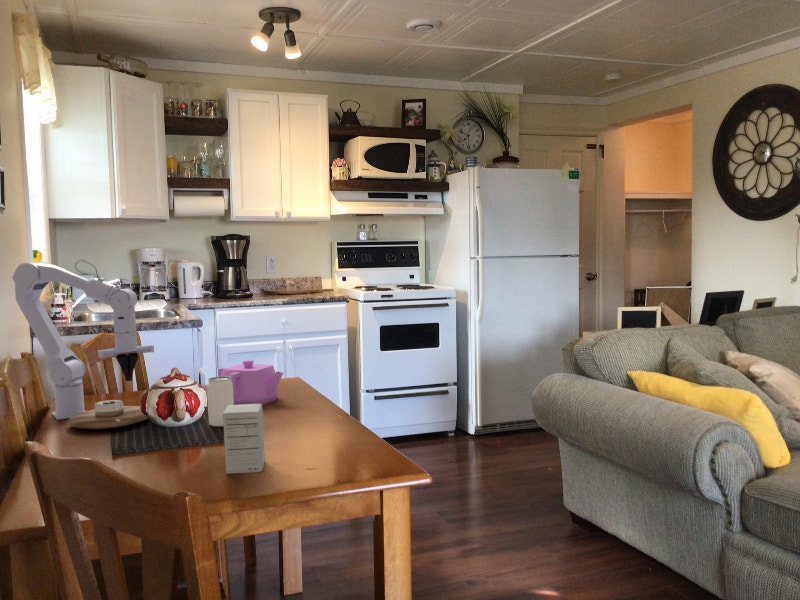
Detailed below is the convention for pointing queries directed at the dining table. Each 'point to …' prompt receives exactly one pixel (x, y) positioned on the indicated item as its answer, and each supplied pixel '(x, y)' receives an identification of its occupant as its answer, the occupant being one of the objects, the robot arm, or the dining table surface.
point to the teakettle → (253, 382)
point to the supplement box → (244, 438)
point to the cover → (109, 409)
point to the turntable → (107, 419)
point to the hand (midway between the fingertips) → (128, 380)
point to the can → (219, 399)
